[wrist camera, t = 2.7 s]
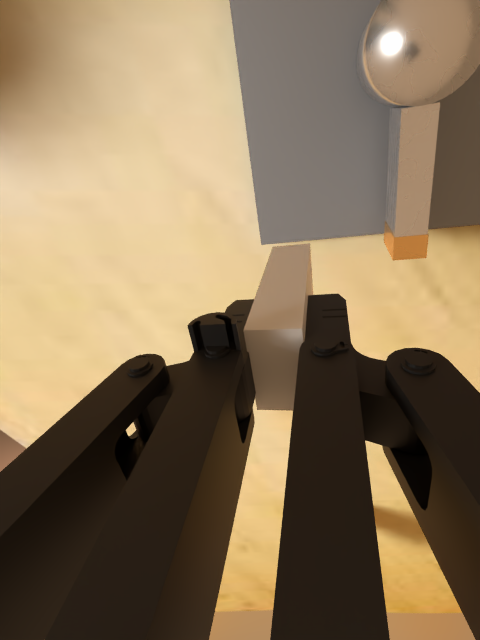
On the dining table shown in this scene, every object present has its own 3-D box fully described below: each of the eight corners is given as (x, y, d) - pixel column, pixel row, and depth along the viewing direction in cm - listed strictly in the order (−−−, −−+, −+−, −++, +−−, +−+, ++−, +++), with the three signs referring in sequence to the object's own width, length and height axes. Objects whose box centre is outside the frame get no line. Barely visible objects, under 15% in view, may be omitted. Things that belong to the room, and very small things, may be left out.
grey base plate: (264, 237, 34) (260, 245, 32) (216, -143, 22) (206, -167, 20) (540, 211, 28) (556, 218, 27) (664, -306, 17) (709, -359, 15)
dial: (356, 4, 23) (366, -25, 18) (462, -21, 21) (507, -60, 16) (356, 237, 30) (363, 264, 25) (435, 230, 29) (460, 257, 24)
